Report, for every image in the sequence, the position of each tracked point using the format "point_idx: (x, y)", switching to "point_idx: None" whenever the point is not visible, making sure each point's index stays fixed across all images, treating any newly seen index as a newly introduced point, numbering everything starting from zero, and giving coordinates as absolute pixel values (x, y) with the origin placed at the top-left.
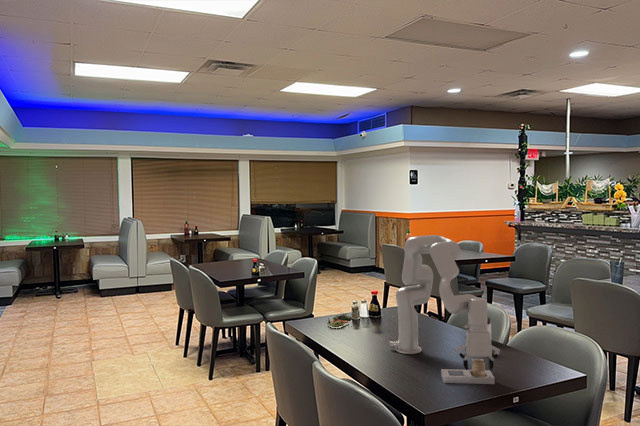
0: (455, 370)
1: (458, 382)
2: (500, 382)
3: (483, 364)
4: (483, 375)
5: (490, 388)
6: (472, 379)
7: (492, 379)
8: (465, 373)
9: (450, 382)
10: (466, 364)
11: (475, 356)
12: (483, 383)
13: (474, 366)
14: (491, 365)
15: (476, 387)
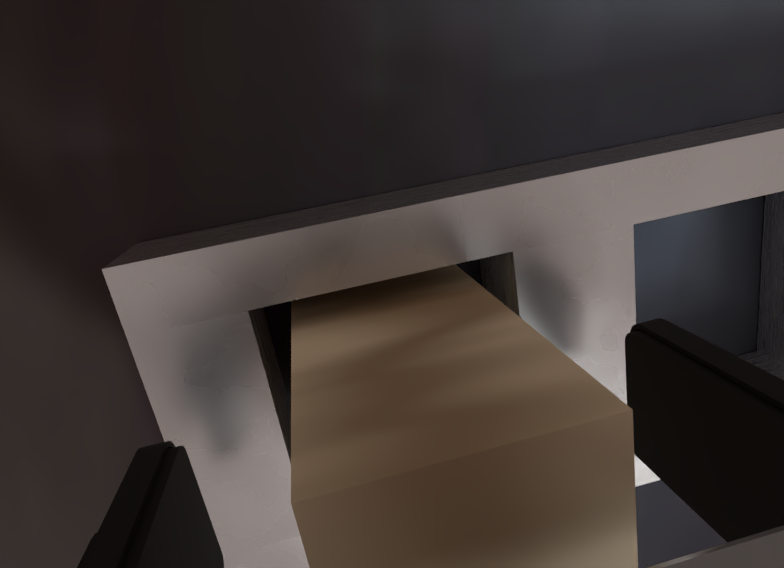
0: None
1: (669, 137)
2: (50, 343)
3: (333, 448)
4: (319, 329)
5: (188, 11)
6: (496, 182)
7: (152, 253)
8: (606, 342)
9: (769, 117)
10: (740, 365)
11: (752, 538)
12: (313, 208)
13: (546, 360)
14: (114, 524)
15: (419, 8)
